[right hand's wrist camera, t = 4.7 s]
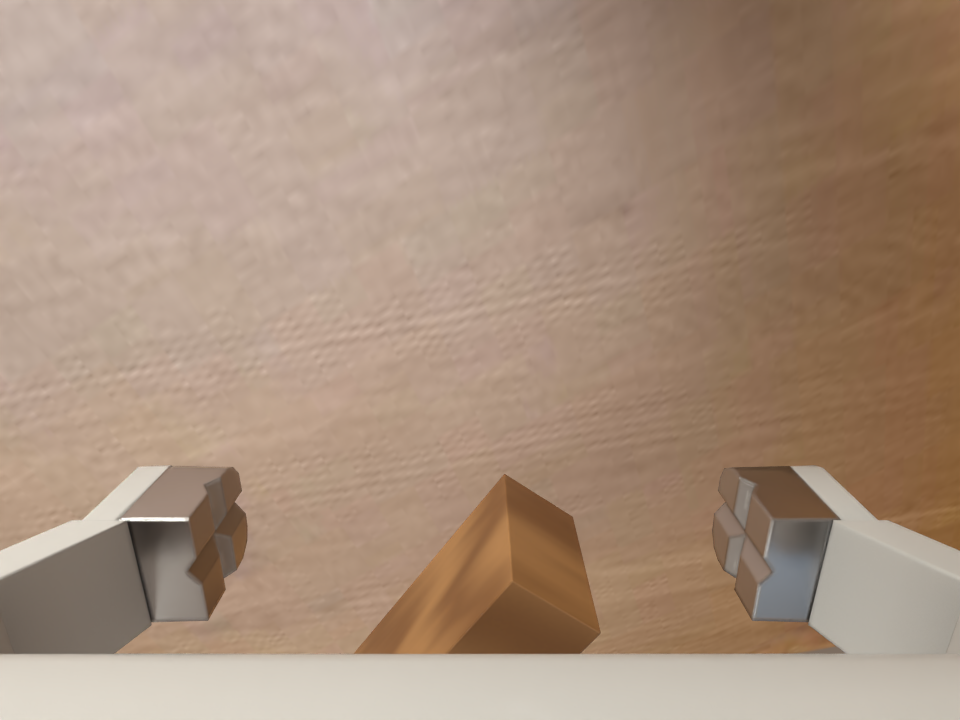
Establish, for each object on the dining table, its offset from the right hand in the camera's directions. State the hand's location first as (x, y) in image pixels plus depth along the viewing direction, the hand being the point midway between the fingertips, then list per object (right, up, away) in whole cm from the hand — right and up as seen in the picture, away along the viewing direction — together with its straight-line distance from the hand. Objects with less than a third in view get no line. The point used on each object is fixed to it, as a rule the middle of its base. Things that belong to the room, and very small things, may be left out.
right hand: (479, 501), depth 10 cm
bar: (-4, -13, +24) cm, 28 cm away
